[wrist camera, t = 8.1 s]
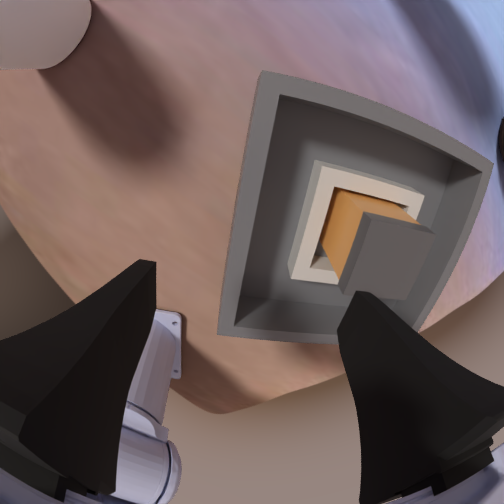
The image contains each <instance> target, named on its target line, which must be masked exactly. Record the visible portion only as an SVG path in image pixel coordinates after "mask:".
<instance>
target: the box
mask: <svg viewBox="0 0 504 504" xmlns="http://www.w3.org/2000/svg"><path fill="white" fill-rule="evenodd" d="M493 165H494V163H492V162H491V161H489V160H488V159H486V158H485V157H483V156H482V155H480V154H479V153H477V152H476V151H474V150H472V149H471V148H469V147H468V146H466V145H464V144H462V143H461V142H459V141H457V140H456V139H454V138H452V137H450V136H448V135H447V134H445V133H443V132H441V131H439V130H437V129H435V128H433V127H431V126H429V125H427V124H425V123H423V122H421V121H419V120H417V119H415V118H413V117H411V116H408V115H406V114H404V113H402V112H399V111H397V110H395V109H392V108H390V107H387V106H385V105H382V104H380V103H377V102H375V101H372V100H369V99H367V98H364V97H361V96H358V95H355V94H352V93H349V92H346V91H343V90H340V89H337V88H334V87H330V86H327V85H323V84H320V83H316V82H312V81H309V80H305V79H301V78H297V77H292V76H288V75H283V74H278V73H273V72H268V71H263V70H262V72H261V74H260V76H259V78H258V81H257V86H256V91H255V97H254V102H253V107H252V112H251V117H250V123H249V128H248V133H247V139H246V144H245V150H244V155H243V161H242V167H241V172H240V178H239V184H238V190H237V196H236V202H235V208H234V214H233V220H232V226H231V232H230V238H229V245H228V251H227V258H226V264H225V271H224V277H223V284H222V291H221V298H220V308H219V318H218V328H217V335H223V336H231V337H240V338H250V339H260V340H271V341H283V342H298V343H316V344H339V343H338V336H337V328H338V326H339V324H340V322H341V320H342V318H343V316H344V314H345V312H346V310H347V308H348V306H349V304H350V302H351V300H352V298H353V296H348V295H343V294H342V292H341V290H340V288H339V285H338V282H339V279H338V277H337V275H336V273H335V271H334V269H333V267H332V265H331V263H330V261H329V259H328V257H327V255H326V253H325V251H324V249H323V247H322V245H321V243H320V241H319V238H320V235H321V231H322V228H323V224H324V221H325V218H326V214H327V211H328V207H329V203H330V200H331V196H332V193H333V189H334V186H335V187H339V188H343V189H347V190H351V191H355V192H359V193H363V194H367V195H371V196H375V197H378V198H382V199H386V200H389V201H392V202H394V203H395V204H396V205H397V206H399V207H400V208H401V209H402V210H404V211H405V212H406V213H407V214H409V215H410V216H411V217H412V218H414V219H415V220H416V221H417V222H418V223H419V224H421V225H423V226H426V227H428V228H429V229H430V230H431V231H432V232H434V233H435V234H436V236H435V239H434V241H433V244H432V246H431V248H430V251H429V253H428V255H427V257H426V260H425V262H424V264H423V266H422V268H421V270H420V272H419V274H418V277H417V279H416V281H415V283H414V285H413V287H412V289H411V291H410V292H409V294H408V296H407V298H406V300H398V299H385V298H378V299H380V300H381V301H382V302H383V303H384V304H386V305H387V306H388V307H389V308H390V309H391V310H392V311H393V312H395V313H396V314H397V315H398V316H399V317H400V318H401V319H402V320H403V321H405V322H406V323H407V324H408V325H409V326H410V327H411V328H412V329H414V330H415V331H416V332H418V331H419V329H420V328H421V326H422V324H423V323H424V321H425V320H426V318H427V316H428V315H429V313H430V311H431V310H432V308H433V306H434V305H435V303H436V301H437V300H438V298H439V296H440V294H441V292H442V291H443V289H444V287H445V285H446V283H447V281H448V280H449V278H450V276H451V274H452V272H453V270H454V268H455V266H456V264H457V262H458V260H459V257H460V255H461V253H462V251H463V249H464V247H465V244H466V242H467V240H468V237H469V235H470V233H471V230H472V228H473V225H474V223H475V220H476V218H477V215H478V212H479V210H480V207H481V204H482V201H483V198H484V195H485V192H486V189H487V186H488V183H489V179H490V176H491V173H492V169H493Z"/></svg>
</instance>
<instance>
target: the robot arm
mask: <svg viewBox="0 0 504 504" xmlns="http://www.w3.org/2000/svg"><path fill="white" fill-rule="evenodd" d="M175 322H177V323H175ZM181 322H182V317H181V315H180V314H179V313H176V312H170V311H164V310H158V309H156V262H154V261H148V260H142V259H139V260H138V261H136V262H135V263H133V264H132V265H131V266H129V267H128V268H127V269H125V270H124V271H123V272H121V273H120V274H119V275H117V276H116V277H115V278H113V279H112V280H111V281H109V282H108V283H107V284H105V285H104V286H103V287H101V288H100V289H98V290H97V291H95V292H94V293H92V294H91V295H89V296H88V297H86V298H85V299H83V300H82V301H81V302H79V303H78V304H76V305H74V306H73V307H71V308H70V309H68V310H66V311H64V312H62V313H61V314H59V315H57V316H55V317H54V318H52V319H50V320H48V321H46V322H44V323H41V324H39V325H37V326H35V327H33V328H31V329H29V330H27V331H25V332H22V333H19V334H17V335H14V336H12V337H9V338H6V339H3V340H1V341H0V504H168V503H169V502H170V501H171V500H172V499H173V497H174V496H175V494H176V492H177V490H178V487H179V484H180V479H181V470H182V468H181V459H180V456H179V454H178V451H177V448H176V446H175V445H174V443H172V442H171V441H169V440H167V438H168V431H169V429H168V428H166V427H164V426H162V422H163V418H164V412H165V406H166V402H167V396H168V391H169V386H170V381H171V378H174V379H180V378H181ZM337 336H338V343H339V349H340V354H341V357H342V361H343V364H344V367H345V371H346V374H347V377H348V380H349V384H350V387H351V391H352V394H353V397H354V401H355V405H356V410H357V416H358V423H359V431H360V443H361V486H360V496H359V503H360V504H382V503H385V502H388V501H391V500H394V499H397V498H400V497H402V498H400V499H397V500H395V501H392V502H389V503H386V504H504V443H503V444H501V445H500V446H498V447H497V448H495V449H494V450H493V451H490V448H489V447H490V446H491V445H492V444H493V439H492V436H493V435H494V434H495V433H497V432H498V431H499V430H500V429H501V428H502V427H504V387H503V386H501V385H498V384H495V383H493V382H491V381H489V380H487V379H484V378H482V377H480V376H478V375H476V374H475V373H473V372H471V371H469V370H468V369H466V368H464V367H463V366H461V365H459V364H458V363H456V362H455V361H453V360H452V359H450V358H449V357H447V356H446V355H445V354H443V353H442V352H441V351H439V350H438V349H437V348H435V347H434V346H432V345H431V344H430V343H429V342H428V341H427V340H425V339H424V338H423V337H422V336H420V335H419V334H418V333H417V332H416V331H415V330H414V329H412V328H411V327H410V326H409V325H408V324H407V323H406V322H405V321H403V320H402V319H401V318H400V317H399V316H398V315H397V314H396V313H395V312H393V311H392V310H391V309H390V308H389V307H388V306H387V305H386V304H384V303H383V302H382V301H381V300H380V299H378V298H377V297H376V296H374V295H373V294H372V293H370V292H365V291H357V290H356V291H355V294H354V296H353V298H352V300H351V302H350V304H349V306H348V308H347V310H346V312H345V314H344V316H343V318H342V320H341V322H340V324H339V326H338V328H337Z"/></svg>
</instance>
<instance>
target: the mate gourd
mask: <svg viewBox="0 0 504 504" xmlns="http://www.w3.org/2000/svg"><path fill="white" fill-rule="evenodd" d="M499 147H500V151H501V155H502V158H503V161H504V117H503V119H502V125H501V127H500V132H499Z"/></svg>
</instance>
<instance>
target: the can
mask: <svg viewBox="0 0 504 504" xmlns="http://www.w3.org/2000/svg"><path fill="white" fill-rule="evenodd" d="M90 18H91V4H90V1H89V0H0V70H8V69H46V68H50V67H52V66H55V65H57V64H58V63H60V62H61V61H63V60H64V59H65V58H66V57H67V56H68V55H69V54H70V53H71V52H72V51H73V50H74V49H75V48H76V47H77V45H78V44H79V42H80V41H81V39H82V38H83V36H84V34H85V32H86V30H87V28H88V25H89V22H90Z"/></svg>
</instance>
